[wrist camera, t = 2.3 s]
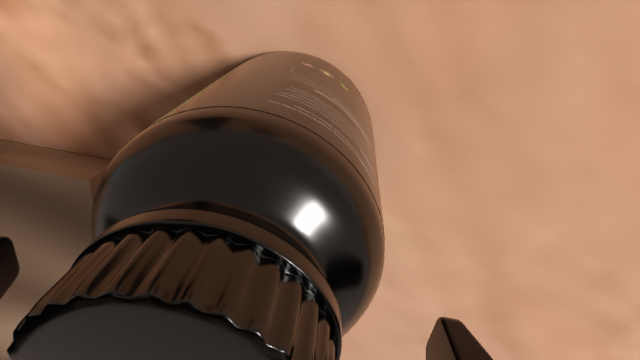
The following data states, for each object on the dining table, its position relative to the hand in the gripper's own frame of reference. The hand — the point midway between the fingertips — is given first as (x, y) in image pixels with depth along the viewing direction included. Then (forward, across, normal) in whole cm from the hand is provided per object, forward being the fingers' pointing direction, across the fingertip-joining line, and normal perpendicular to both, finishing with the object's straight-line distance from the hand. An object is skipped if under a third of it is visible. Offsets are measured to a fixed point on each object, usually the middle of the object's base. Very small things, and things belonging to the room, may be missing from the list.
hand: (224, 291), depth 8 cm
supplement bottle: (+10, 0, 0) cm, 10 cm away
